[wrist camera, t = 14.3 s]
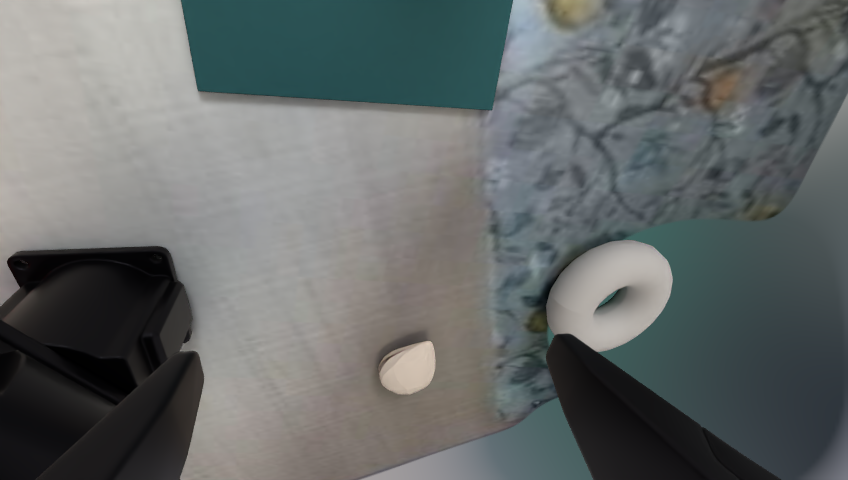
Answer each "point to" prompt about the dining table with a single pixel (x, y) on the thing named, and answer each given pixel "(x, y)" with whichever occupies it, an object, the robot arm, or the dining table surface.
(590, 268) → the donut
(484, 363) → the dining table surface
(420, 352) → the cream clam shell
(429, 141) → the dining table surface
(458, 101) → the napkin
